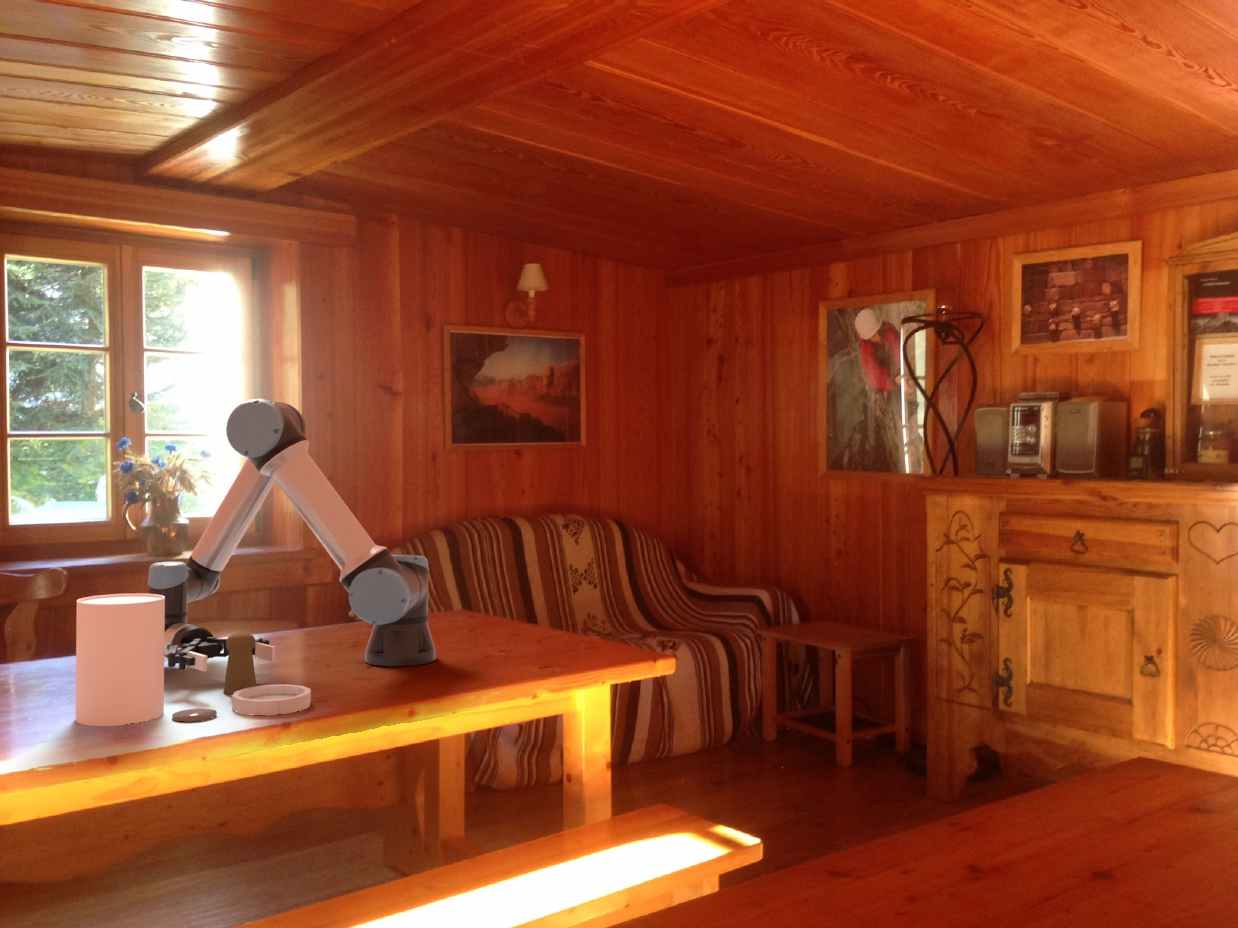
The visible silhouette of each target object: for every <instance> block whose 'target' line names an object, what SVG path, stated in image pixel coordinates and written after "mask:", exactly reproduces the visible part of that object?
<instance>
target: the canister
mask: <svg viewBox="0 0 1238 928" xmlns="http://www.w3.org/2000/svg"><path fill="white" fill-rule="evenodd" d="M75 625H76V626H75V627H76V629H75V630H76V633H75V634H76V636H75V637H76V639H75V641H76V643H75V644H76V645H75V650H76V651H75V653H76V654H75V722H76V723H78V724H80V725H84V726H89V727H115V726H117V727H119V726H125V724H128V725H131V724H130V723H135V724H140V723H139V722H141V723H144V722H143V721H145V722H147V721H146V720H149V721H152V720H151V719H153V720H155V719H154V718H156V717H158V718H160V717H162V716H163V715H164V712H165V711H164V710H165V709H164V706H165V698H164V697H165V657H164V626H165V596H162V595H157V594H148V593H113V594H111V593H110V594H102V595H101V594H100V595H91V596H87V597H86V596H85V597H81V598H78V599H77V600H76V623H75ZM162 714H163V715H162ZM161 715H162V716H161ZM156 719H157V718H156Z"/></svg>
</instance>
